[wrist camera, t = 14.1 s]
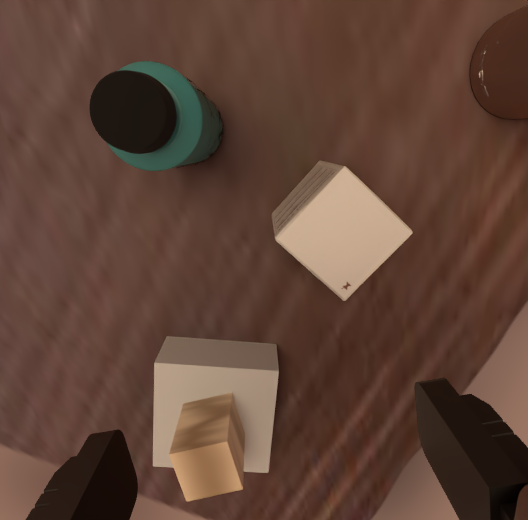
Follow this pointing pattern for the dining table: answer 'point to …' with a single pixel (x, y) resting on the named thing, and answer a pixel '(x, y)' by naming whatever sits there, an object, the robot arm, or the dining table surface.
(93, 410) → the dining table surface
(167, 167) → the beverage bottle
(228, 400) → the birch block
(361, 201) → the supplement box
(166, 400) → the flat white box
